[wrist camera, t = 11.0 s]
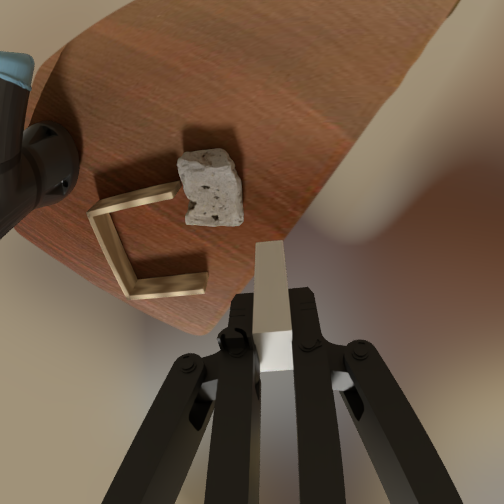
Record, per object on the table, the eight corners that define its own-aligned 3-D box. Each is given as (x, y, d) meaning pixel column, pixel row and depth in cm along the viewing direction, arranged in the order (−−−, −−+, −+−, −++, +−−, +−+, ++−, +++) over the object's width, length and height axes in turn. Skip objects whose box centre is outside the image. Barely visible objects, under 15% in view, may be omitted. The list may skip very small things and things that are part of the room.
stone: (195, 230, 48) (253, 215, 47) (188, 245, 43) (253, 229, 42) (170, 156, 42) (231, 137, 41) (159, 161, 37) (227, 140, 36)
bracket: (135, 283, 56) (127, 300, 52) (99, 200, 46) (86, 212, 41) (208, 275, 54) (204, 293, 50) (179, 180, 44) (171, 192, 39)
